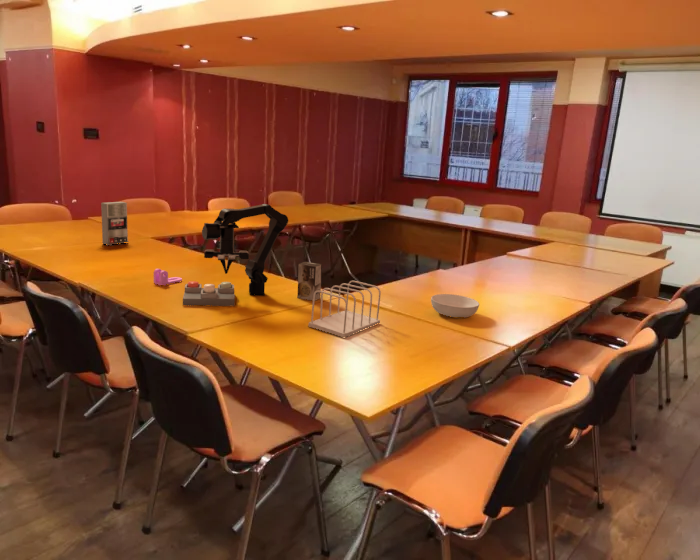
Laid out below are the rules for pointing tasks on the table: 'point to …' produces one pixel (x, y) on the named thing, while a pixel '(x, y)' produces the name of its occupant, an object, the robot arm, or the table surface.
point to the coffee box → (309, 280)
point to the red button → (193, 284)
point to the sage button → (225, 285)
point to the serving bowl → (454, 305)
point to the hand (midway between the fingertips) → (226, 273)
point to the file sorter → (344, 314)
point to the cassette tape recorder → (114, 222)
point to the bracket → (164, 277)
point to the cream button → (209, 288)
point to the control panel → (209, 296)
